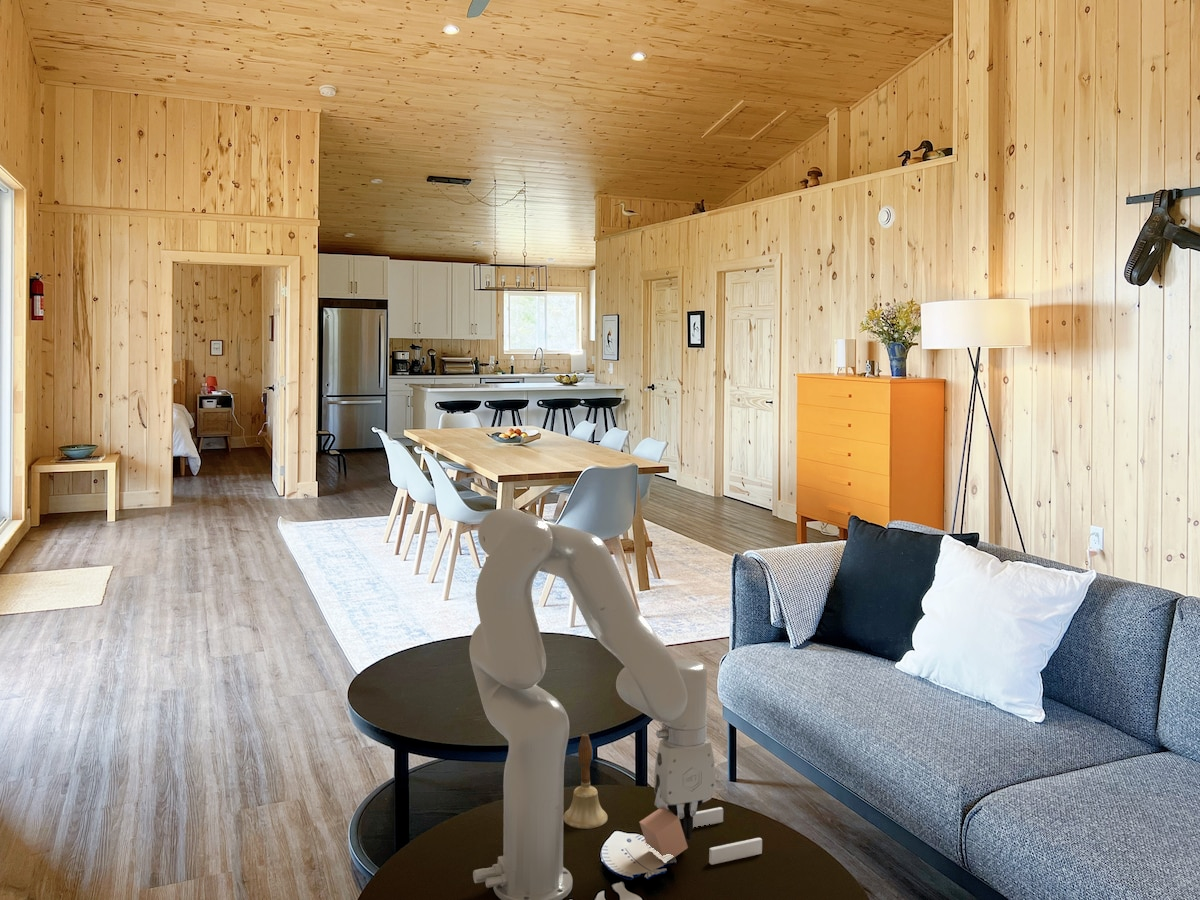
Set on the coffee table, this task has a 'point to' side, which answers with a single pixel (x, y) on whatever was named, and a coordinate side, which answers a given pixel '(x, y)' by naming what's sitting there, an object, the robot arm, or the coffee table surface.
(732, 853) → the channel
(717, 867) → the coffee table surface
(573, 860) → the coffee table surface
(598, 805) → the hand bell
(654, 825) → the block
